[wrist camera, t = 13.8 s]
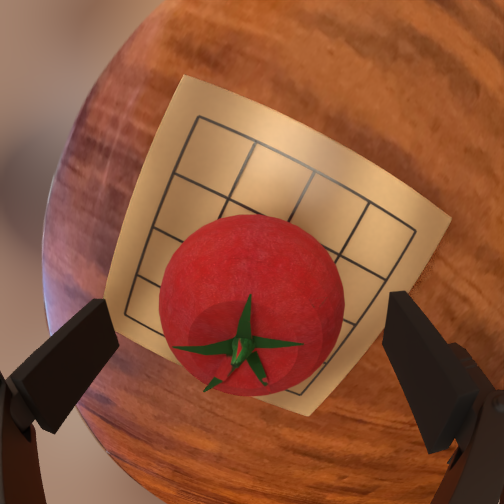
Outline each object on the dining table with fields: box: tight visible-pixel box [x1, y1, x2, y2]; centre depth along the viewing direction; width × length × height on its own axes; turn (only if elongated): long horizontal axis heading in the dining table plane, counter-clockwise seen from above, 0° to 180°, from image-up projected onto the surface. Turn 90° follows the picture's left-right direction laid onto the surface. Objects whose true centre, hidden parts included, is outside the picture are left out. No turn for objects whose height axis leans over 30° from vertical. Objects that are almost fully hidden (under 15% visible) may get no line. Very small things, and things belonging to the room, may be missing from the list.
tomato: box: [159, 214, 345, 397], centre depth 14 cm, size 9×9×8 cm
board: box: [103, 75, 452, 416], centre depth 18 cm, size 18×18×1 cm
